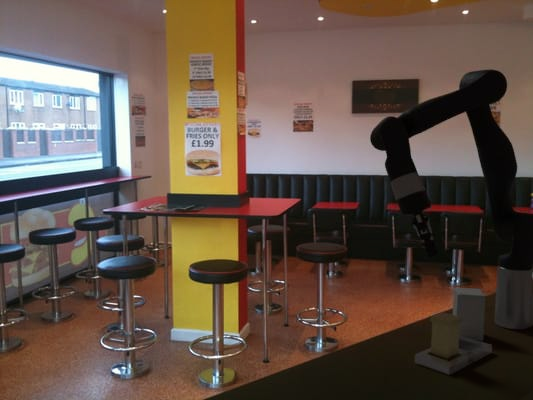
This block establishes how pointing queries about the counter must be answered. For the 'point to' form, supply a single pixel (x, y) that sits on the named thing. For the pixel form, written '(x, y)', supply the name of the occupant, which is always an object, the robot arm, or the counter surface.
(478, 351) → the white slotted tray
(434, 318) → the brown square post
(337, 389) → the counter surface
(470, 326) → the supplement box
